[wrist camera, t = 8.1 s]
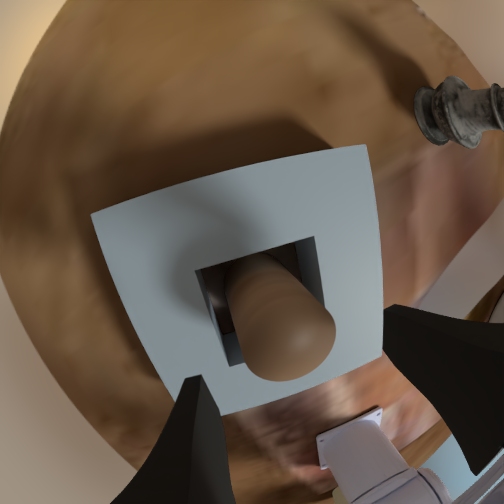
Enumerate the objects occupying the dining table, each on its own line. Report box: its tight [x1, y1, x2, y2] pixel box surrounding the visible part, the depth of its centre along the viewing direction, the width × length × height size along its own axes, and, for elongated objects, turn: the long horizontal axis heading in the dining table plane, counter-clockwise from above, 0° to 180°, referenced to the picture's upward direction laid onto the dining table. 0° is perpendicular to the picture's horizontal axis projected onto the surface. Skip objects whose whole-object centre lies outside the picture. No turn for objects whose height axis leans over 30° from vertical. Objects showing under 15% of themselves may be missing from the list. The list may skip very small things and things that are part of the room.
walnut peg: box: [224, 252, 336, 382], centre depth 14 cm, size 4×4×7 cm
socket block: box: [91, 144, 383, 416], centre depth 15 cm, size 14×14×4 cm
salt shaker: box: [414, 76, 504, 149], centre depth 11 cm, size 6×6×12 cm
